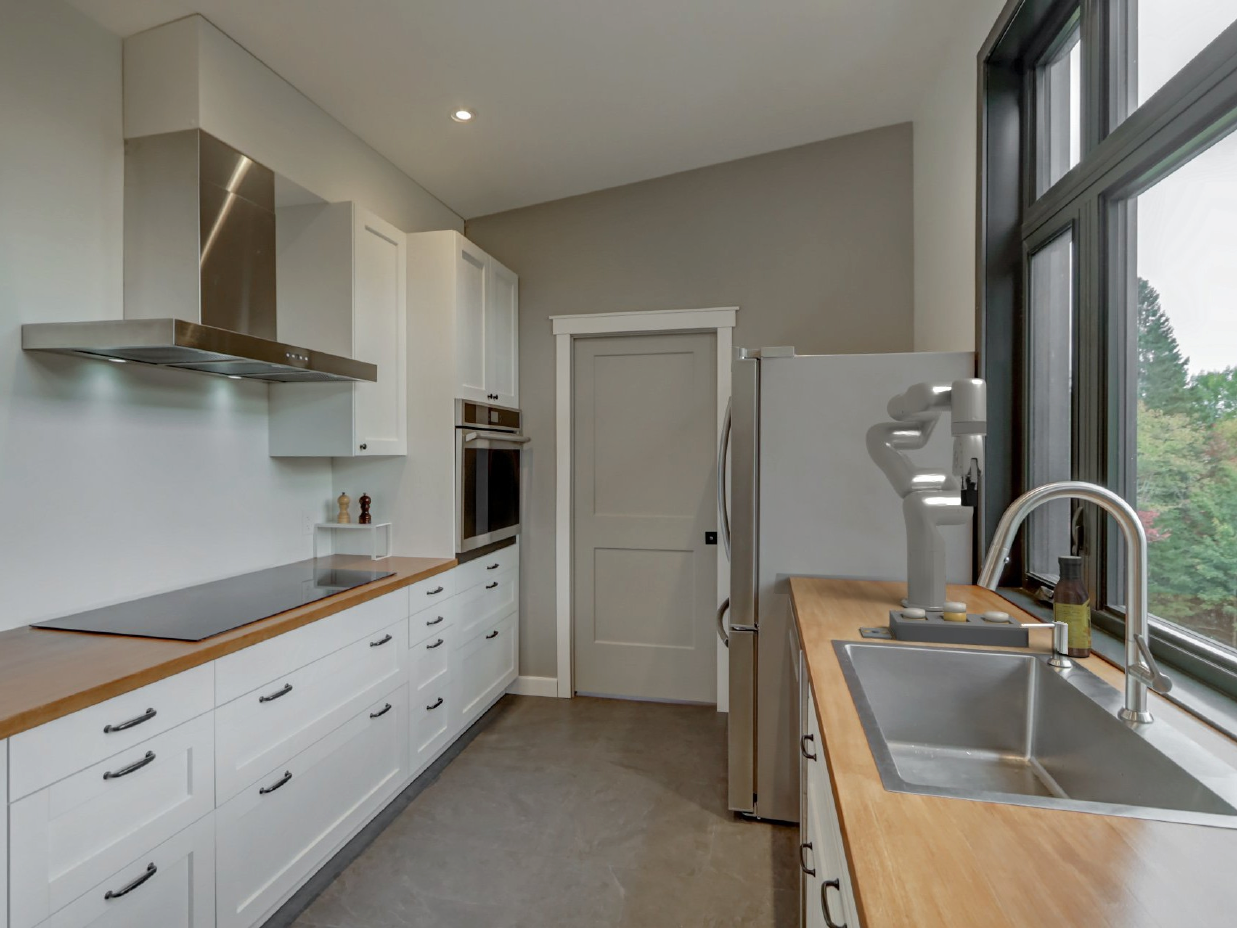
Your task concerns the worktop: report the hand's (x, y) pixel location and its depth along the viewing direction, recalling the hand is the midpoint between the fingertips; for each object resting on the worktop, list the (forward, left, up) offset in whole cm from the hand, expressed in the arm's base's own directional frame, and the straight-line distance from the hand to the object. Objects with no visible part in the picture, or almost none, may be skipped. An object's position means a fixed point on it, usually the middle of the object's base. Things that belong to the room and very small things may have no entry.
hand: (968, 506), depth 159 cm
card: (+13, -23, -29) cm, 39 cm away
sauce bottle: (+21, +14, -29) cm, 38 cm away
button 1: (+12, -14, -29) cm, 34 cm away
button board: (+12, -6, -29) cm, 32 cm away
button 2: (+12, +3, -29) cm, 31 cm away
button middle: (+12, -6, -27) cm, 30 cm away
